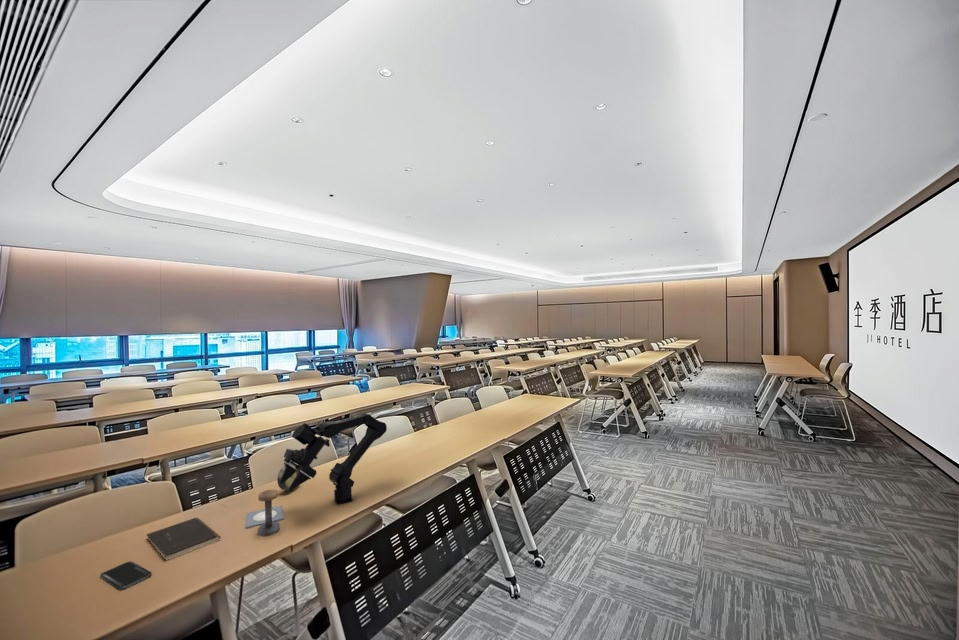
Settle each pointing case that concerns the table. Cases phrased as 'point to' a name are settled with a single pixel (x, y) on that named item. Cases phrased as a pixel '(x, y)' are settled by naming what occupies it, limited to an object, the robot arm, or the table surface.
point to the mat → (263, 517)
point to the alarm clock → (288, 482)
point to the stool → (268, 513)
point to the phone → (126, 575)
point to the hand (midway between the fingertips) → (285, 486)
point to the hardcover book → (182, 538)
